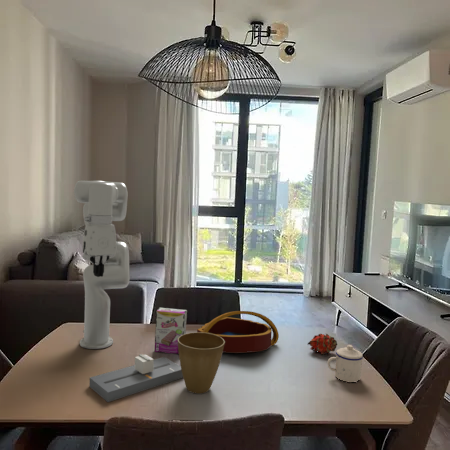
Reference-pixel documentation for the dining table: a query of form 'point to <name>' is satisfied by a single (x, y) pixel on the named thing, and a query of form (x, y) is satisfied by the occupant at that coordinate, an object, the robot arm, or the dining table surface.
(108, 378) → the fader panel
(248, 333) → the decorative basket
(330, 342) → the dragon fruit
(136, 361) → the fader knob
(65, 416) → the dining table surface
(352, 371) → the teacup with lid
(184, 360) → the plant pot
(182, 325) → the candy bar box
